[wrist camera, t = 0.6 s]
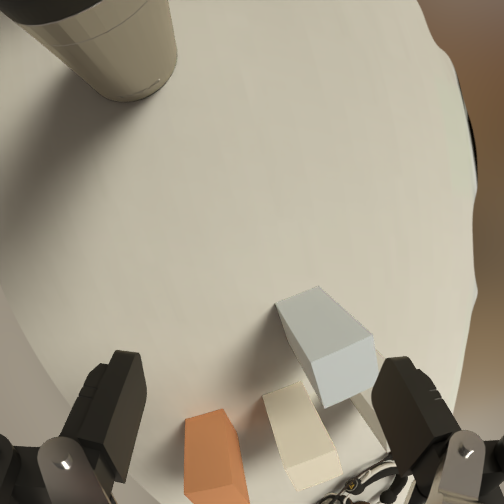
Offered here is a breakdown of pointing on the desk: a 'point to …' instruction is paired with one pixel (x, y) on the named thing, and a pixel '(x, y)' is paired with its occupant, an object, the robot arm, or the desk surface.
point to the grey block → (371, 409)
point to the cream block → (301, 437)
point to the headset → (367, 477)
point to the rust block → (213, 461)
